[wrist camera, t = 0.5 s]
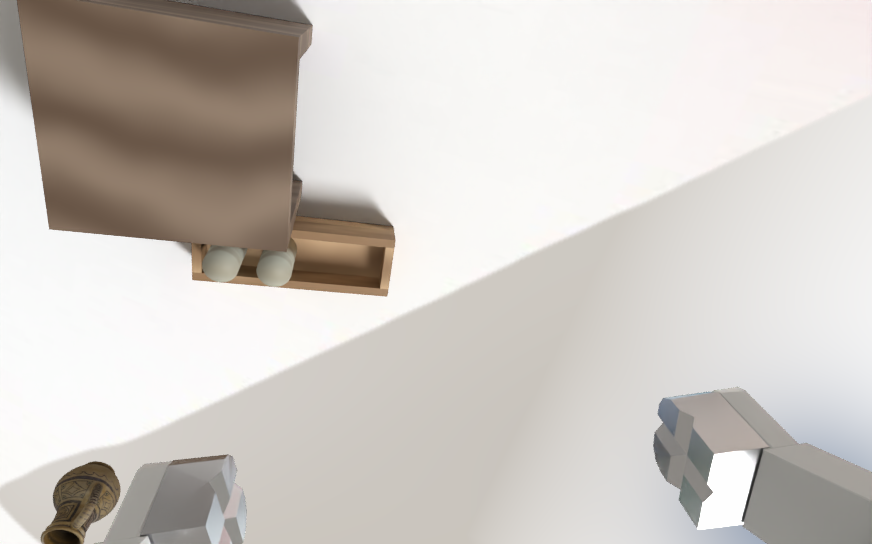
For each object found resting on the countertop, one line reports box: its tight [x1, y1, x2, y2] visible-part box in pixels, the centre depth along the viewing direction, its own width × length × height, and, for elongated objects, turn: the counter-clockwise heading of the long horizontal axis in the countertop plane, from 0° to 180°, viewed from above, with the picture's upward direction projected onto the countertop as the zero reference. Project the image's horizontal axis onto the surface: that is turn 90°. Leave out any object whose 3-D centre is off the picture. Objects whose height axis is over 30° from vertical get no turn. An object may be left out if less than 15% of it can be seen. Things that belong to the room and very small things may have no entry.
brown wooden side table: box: [17, 0, 313, 252], centre depth 43 cm, size 15×16×12 cm
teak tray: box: [192, 216, 395, 296], centre depth 52 cm, size 6×18×6 cm, turn 80°
